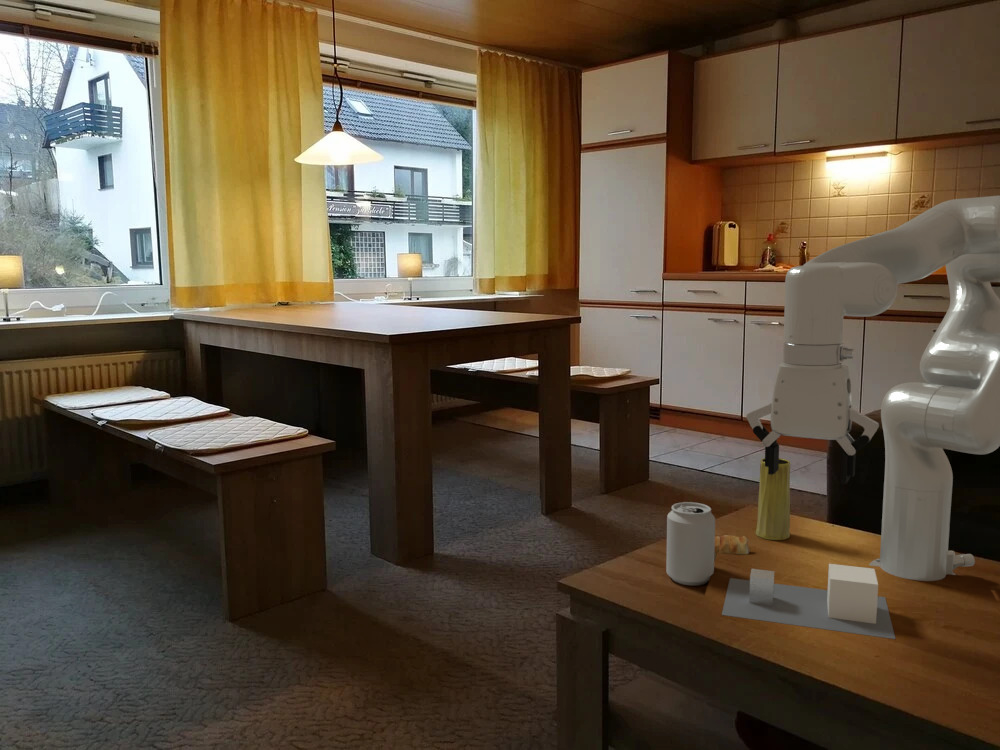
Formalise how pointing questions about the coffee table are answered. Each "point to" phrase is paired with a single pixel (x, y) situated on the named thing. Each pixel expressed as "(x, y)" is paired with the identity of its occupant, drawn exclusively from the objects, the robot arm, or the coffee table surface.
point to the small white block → (761, 587)
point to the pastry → (731, 545)
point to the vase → (774, 502)
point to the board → (801, 609)
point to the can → (690, 543)
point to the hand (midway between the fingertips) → (808, 476)
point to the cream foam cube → (852, 593)
